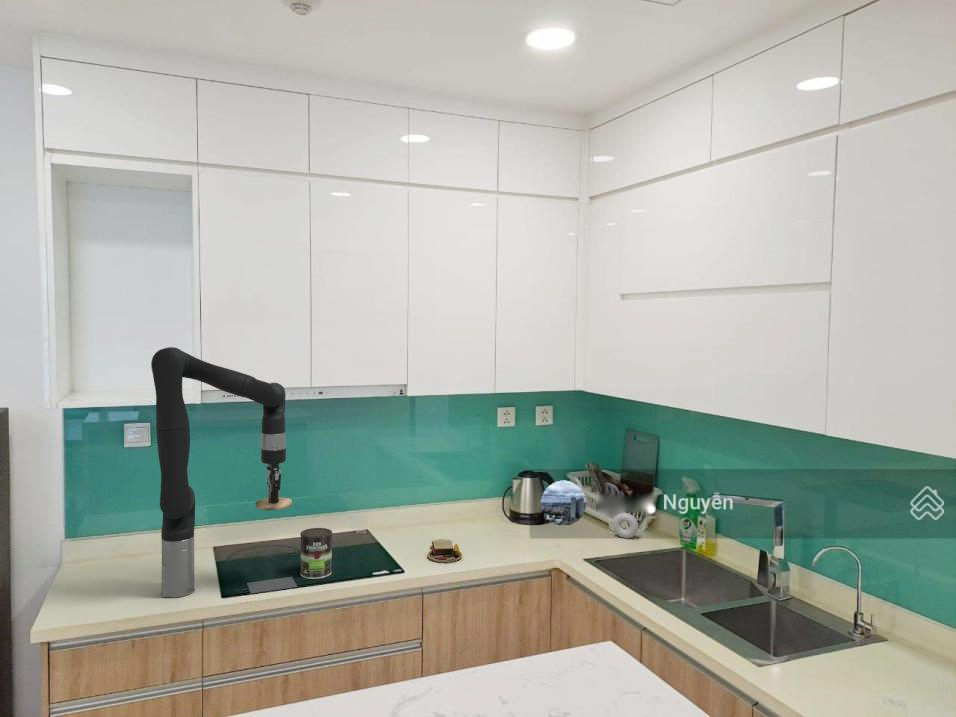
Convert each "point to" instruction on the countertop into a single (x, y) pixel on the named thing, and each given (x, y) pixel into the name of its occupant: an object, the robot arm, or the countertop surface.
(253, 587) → the mat
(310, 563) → the coffee can
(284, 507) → the lid
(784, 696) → the countertop surface
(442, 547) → the toy sandwich meal
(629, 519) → the donut
